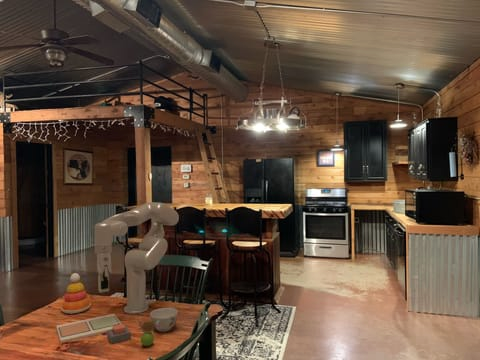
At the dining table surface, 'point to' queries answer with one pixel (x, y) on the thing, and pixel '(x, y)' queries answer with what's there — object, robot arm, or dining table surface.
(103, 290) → the sage block
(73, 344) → the dining table surface
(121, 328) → the button
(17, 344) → the dining table surface
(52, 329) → the dining table surface
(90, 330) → the picture board
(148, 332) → the snail figurine
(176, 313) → the teacup
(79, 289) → the stacking toy
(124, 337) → the button housing
